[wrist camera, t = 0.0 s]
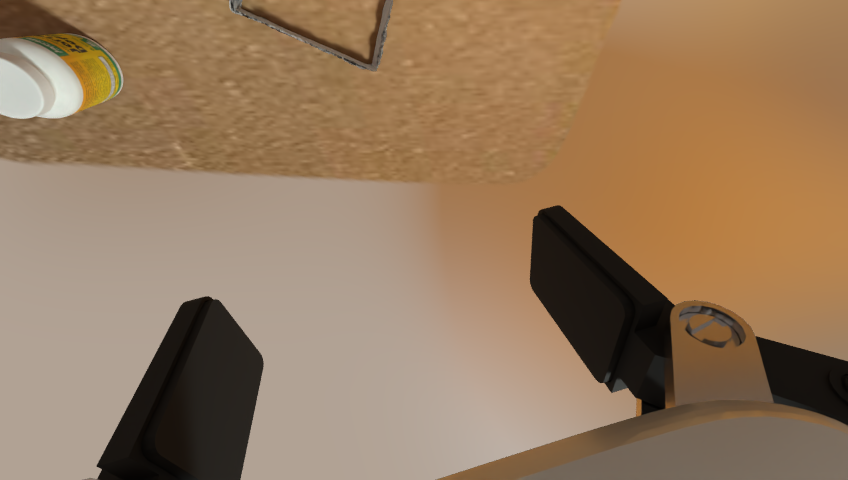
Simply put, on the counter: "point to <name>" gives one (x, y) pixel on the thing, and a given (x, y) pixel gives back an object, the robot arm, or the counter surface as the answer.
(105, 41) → the counter surface
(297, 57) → the counter surface
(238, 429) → the robot arm
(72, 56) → the supplement bottle
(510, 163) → the counter surface
